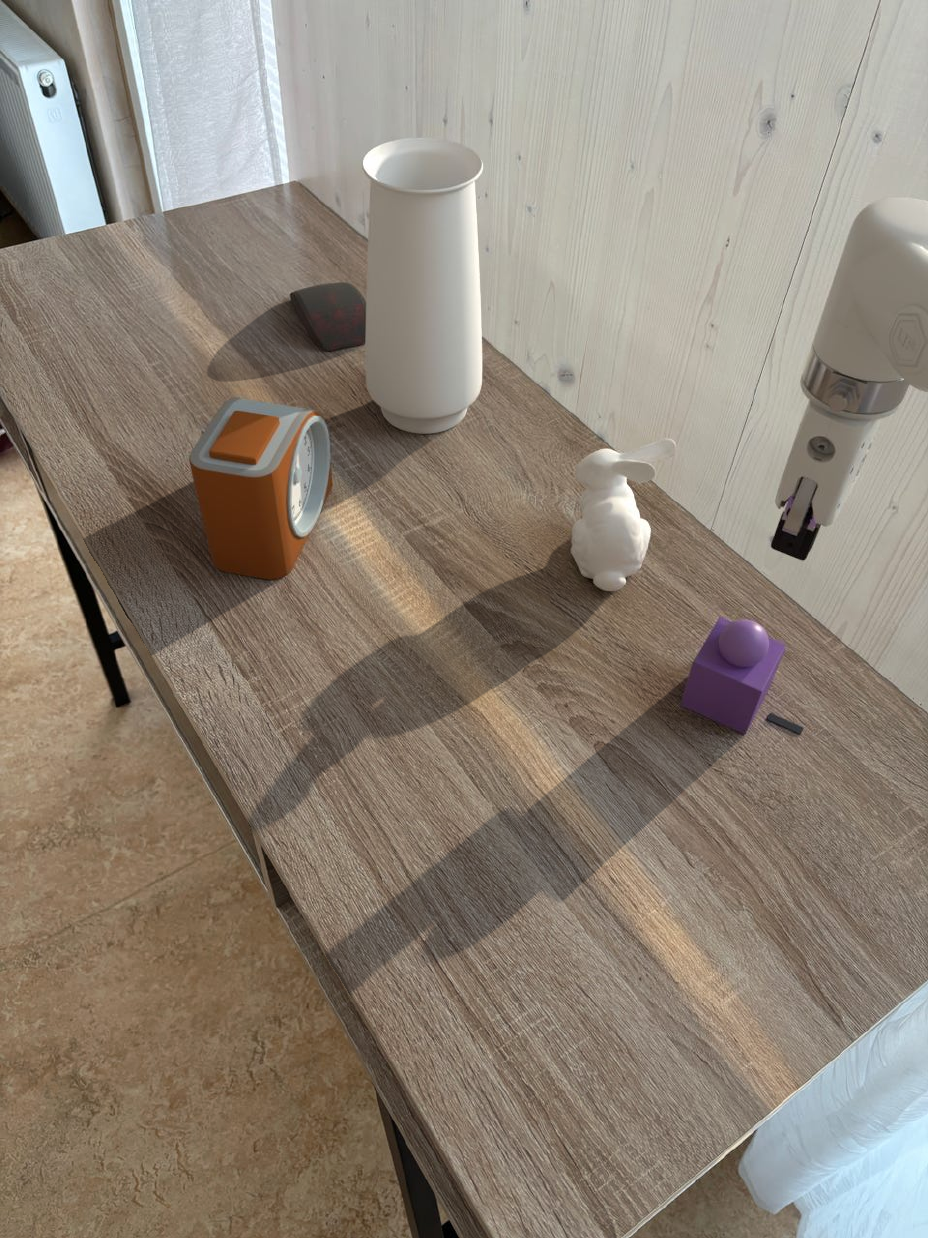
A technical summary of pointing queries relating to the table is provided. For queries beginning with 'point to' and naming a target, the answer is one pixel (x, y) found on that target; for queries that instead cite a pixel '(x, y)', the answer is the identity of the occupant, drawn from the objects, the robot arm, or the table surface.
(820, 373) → the robot arm
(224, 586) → the table surface
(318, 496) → the alarm clock
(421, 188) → the vase
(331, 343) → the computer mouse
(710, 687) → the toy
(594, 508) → the rabbit
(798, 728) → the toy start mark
